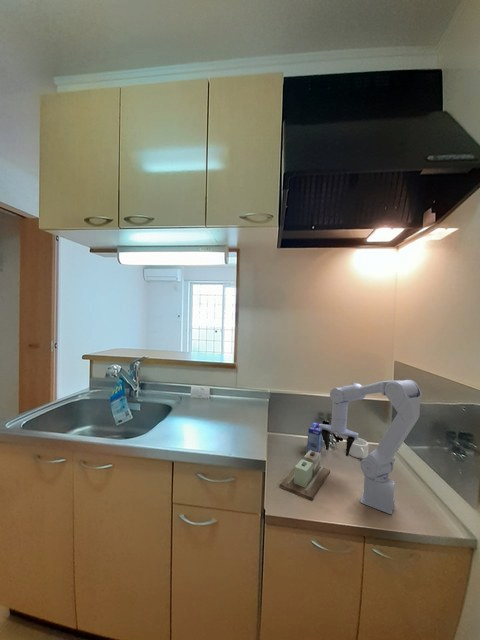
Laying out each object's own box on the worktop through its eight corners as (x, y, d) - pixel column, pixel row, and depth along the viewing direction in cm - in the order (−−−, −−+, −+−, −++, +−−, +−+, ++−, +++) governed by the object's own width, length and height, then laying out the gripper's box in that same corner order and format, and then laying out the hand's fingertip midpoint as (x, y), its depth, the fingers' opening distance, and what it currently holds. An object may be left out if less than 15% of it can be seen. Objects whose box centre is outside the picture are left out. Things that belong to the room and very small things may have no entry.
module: (312, 478, 105) (313, 461, 105) (305, 487, 99) (306, 469, 99) (300, 474, 107) (301, 457, 107) (293, 483, 101) (294, 465, 101)
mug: (343, 448, 135) (344, 435, 135) (363, 450, 134) (364, 437, 134) (351, 460, 123) (352, 447, 123) (374, 462, 122) (375, 449, 122)
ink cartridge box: (318, 458, 123) (320, 426, 123) (306, 454, 125) (308, 423, 125) (322, 449, 132) (324, 419, 131) (311, 446, 134) (313, 416, 134)
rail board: (329, 472, 112) (331, 453, 112) (312, 500, 93) (313, 477, 93) (301, 462, 118) (302, 444, 118) (279, 486, 100) (281, 465, 100)
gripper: (318, 416, 110) (315, 450, 110) (356, 425, 102) (354, 462, 102) (323, 411, 116) (321, 443, 116) (360, 420, 108) (358, 455, 108)
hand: (337, 452), depth 110 cm, fingers open, 7 cm apart
